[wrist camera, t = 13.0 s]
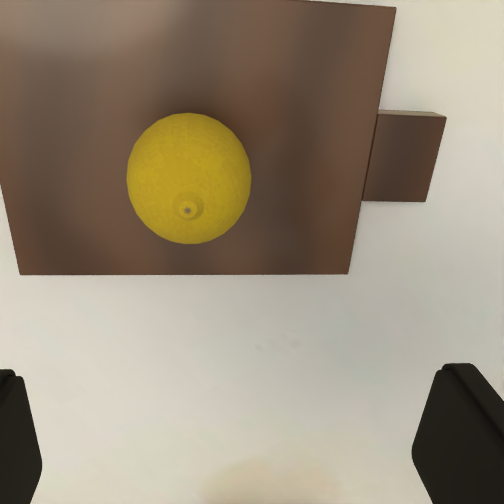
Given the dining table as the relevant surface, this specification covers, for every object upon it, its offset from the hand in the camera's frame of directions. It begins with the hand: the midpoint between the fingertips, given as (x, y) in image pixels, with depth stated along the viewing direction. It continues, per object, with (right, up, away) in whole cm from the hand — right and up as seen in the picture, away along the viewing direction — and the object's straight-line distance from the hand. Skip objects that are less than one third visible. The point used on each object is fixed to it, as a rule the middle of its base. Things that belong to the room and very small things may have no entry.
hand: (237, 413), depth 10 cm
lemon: (-3, +9, +13) cm, 16 cm away
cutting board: (-1, +10, +15) cm, 18 cm away
